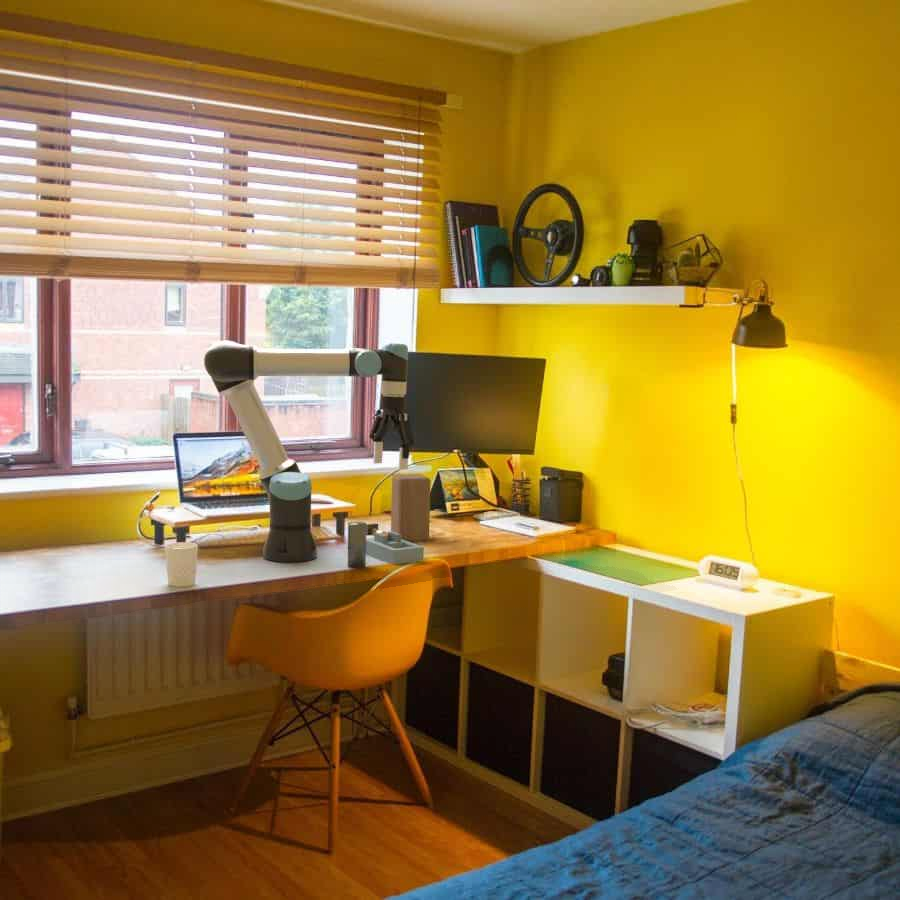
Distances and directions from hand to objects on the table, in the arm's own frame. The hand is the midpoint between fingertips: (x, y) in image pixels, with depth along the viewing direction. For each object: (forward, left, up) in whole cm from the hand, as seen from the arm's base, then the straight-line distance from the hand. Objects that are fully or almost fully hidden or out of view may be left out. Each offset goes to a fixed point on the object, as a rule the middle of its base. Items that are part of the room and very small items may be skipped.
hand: (390, 466), depth 328 cm
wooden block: (+11, +6, -24) cm, 27 cm away
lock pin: (-7, -6, -20) cm, 22 cm away
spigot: (-22, -19, -24) cm, 38 cm away
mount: (-7, -13, -24) cm, 29 cm away
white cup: (-71, -16, -24) cm, 77 cm away
